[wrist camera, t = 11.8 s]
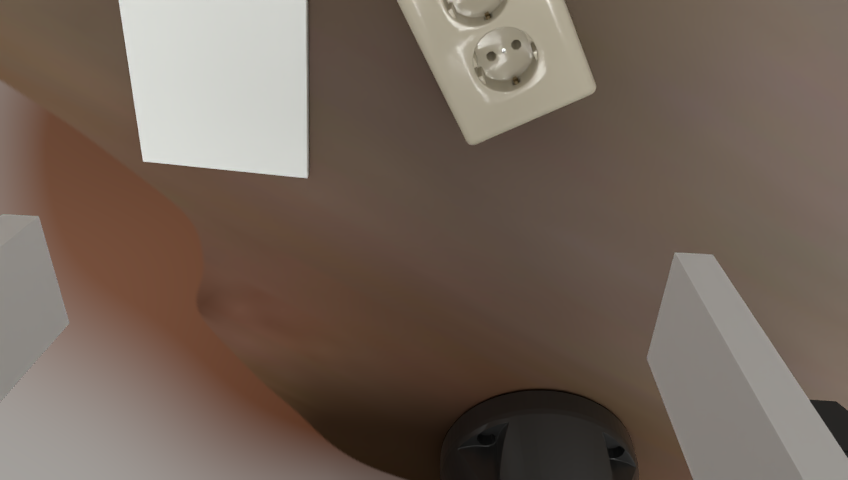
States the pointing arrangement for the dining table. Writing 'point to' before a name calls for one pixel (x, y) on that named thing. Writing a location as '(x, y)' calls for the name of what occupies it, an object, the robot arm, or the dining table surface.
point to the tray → (221, 83)
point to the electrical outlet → (500, 59)
